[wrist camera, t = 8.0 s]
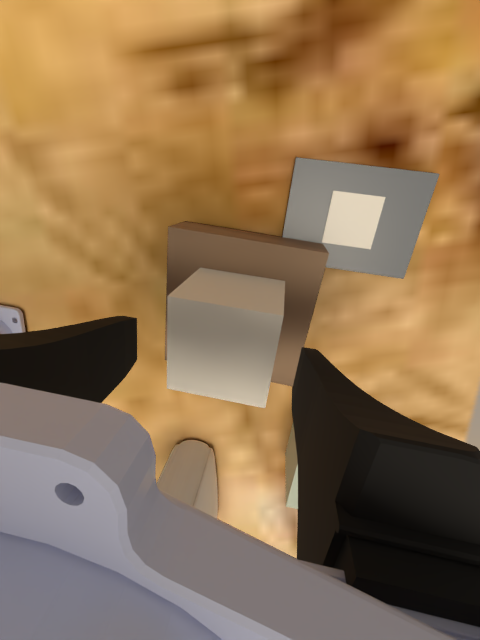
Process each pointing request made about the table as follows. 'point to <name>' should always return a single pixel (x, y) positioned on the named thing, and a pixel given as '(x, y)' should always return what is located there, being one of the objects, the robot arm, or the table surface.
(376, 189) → the card
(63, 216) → the table surface
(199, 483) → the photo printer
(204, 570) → the robot arm
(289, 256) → the walnut base
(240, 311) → the cream cube
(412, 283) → the table surface
